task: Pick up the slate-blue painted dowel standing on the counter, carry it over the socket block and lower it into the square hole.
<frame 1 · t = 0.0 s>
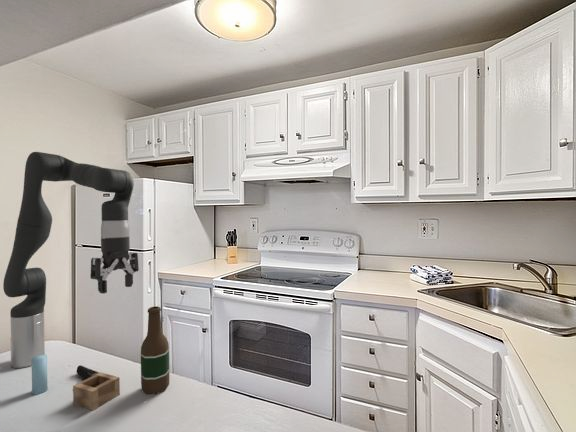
hand: (116, 289, 95), 29 cm above the countertop, tool pointing down, fingers open, 8 cm apart
peg: (39, 391, 94), on the countertop
socket block: (97, 399, 89), on the countertop
electric trimmer: (91, 381, 100), on the countertop
beer bottle: (155, 388, 94), on the countertop
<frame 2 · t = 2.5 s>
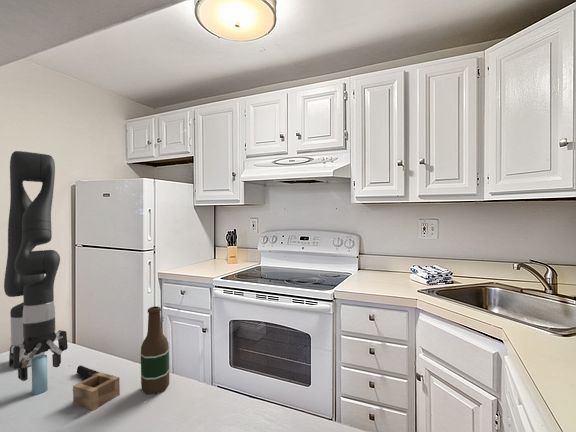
hand: (40, 373, 93), 5 cm above the countertop, tool pointing down, fingers open, 8 cm apart
nothing on the countertop moved.
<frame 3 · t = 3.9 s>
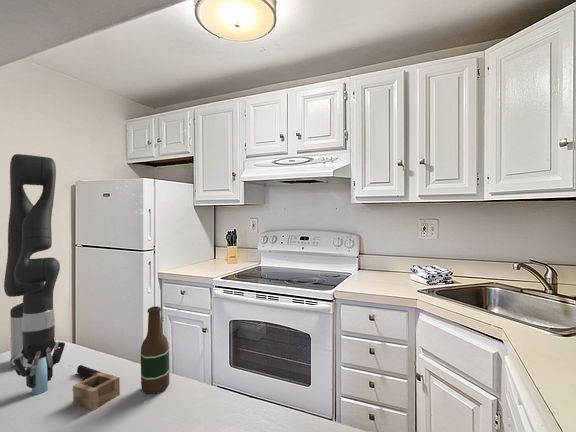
hand: (39, 383, 94), 2 cm above the countertop, tool pointing down, fingers closed on peg, 3 cm apart
peg: (40, 391, 94), on the countertop, touching gripper
everything else where it was.
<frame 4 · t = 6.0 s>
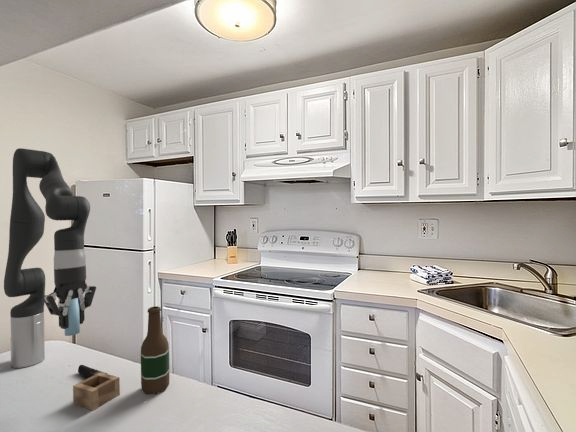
hand: (72, 325, 90), 20 cm above the countertop, tool pointing down, fingers closed on peg, 3 cm apart
peg: (72, 333, 90), point 18 cm above the countertop, touching gripper
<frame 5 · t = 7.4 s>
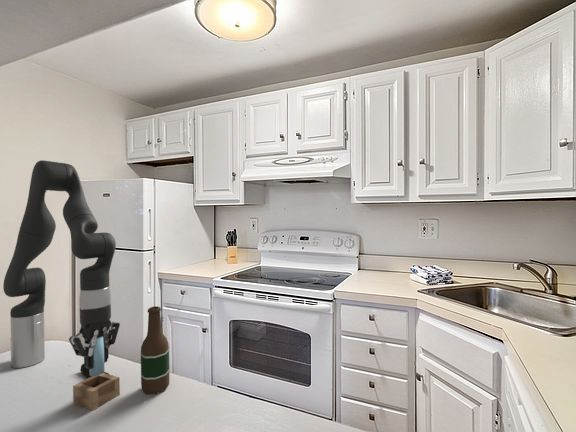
hand: (96, 364, 89), 10 cm above the countertop, tool pointing down, fingers closed on peg, 3 cm apart
peg: (97, 372, 89), point 7 cm above the countertop, touching gripper
when the fingers open (6 cm above the countertop, at t = 8.7 s): peg drops 4 cm, resting in socket block.
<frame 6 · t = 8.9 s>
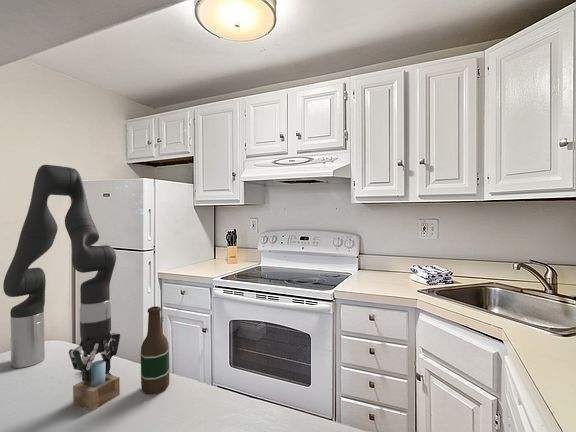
hand: (96, 377, 89), 6 cm above the countertop, tool pointing down, fingers open, 4 cm apart
peg: (97, 399, 89), resting in socket block, touching gripper
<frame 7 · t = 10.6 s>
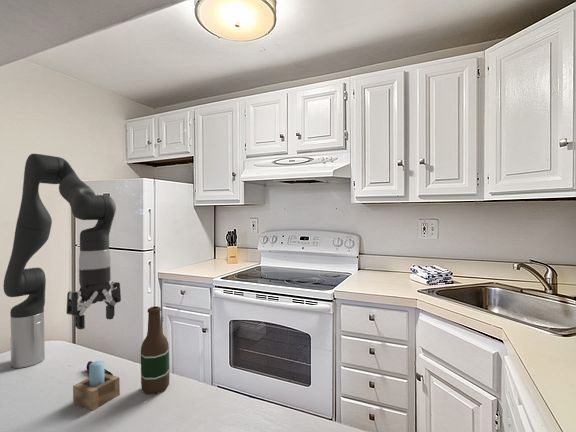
hand: (95, 323, 89), 21 cm above the countertop, tool pointing down, fingers open, 8 cm apart
peg: (97, 399, 89), resting in socket block
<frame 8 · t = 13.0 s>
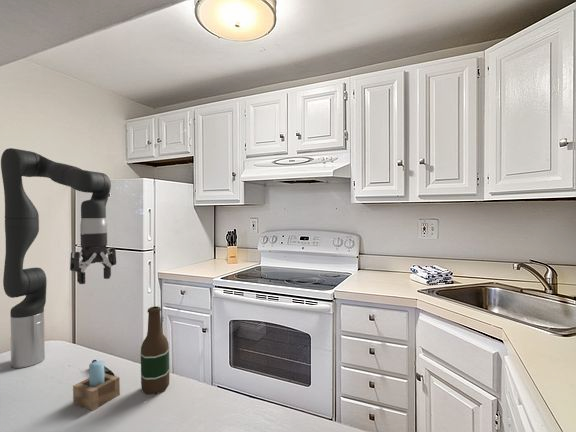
hand: (94, 281, 104), 30 cm above the countertop, tool pointing down, fingers open, 8 cm apart
at the end: peg 0.1 cm off-centre on the socket block, point 0.0 cm above the socket block's base; peg tilted 0°; the gripper is holding nothing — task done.
